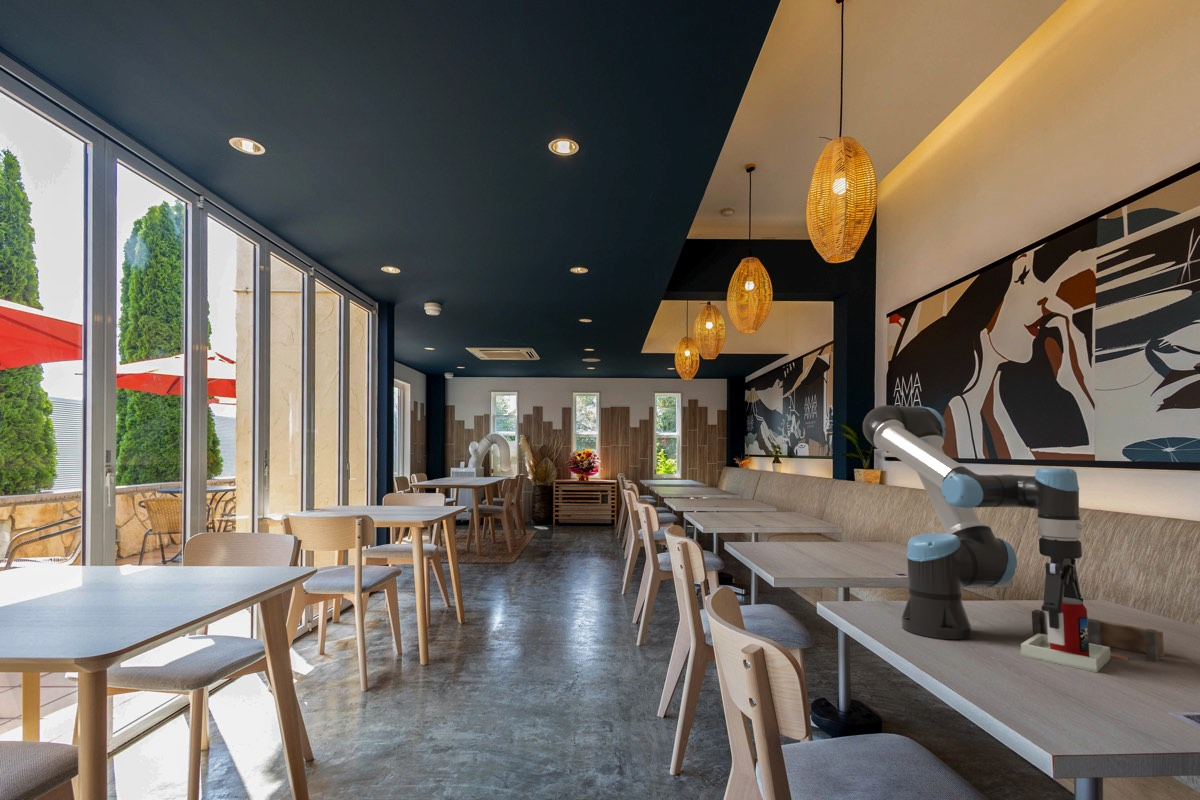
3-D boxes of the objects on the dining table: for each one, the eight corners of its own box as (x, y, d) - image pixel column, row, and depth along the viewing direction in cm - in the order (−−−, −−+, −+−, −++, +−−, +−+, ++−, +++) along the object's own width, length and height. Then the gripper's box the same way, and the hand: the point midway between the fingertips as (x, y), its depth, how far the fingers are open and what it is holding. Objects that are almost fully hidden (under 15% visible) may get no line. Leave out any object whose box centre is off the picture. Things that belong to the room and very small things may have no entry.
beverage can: (1095, 663, 127) (1092, 604, 128) (1057, 659, 129) (1054, 601, 130) (1081, 653, 134) (1078, 597, 135) (1045, 650, 136) (1042, 594, 137)
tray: (1021, 655, 133) (1020, 644, 133) (1038, 644, 142) (1038, 633, 142) (1096, 672, 123) (1096, 659, 124) (1110, 659, 132) (1109, 647, 132)
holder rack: (1025, 639, 145) (1024, 613, 145) (1040, 630, 153) (1038, 606, 153) (1155, 666, 128) (1153, 636, 128) (1164, 654, 135) (1162, 626, 136)
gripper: (1065, 545, 124) (1071, 653, 122) (1094, 535, 140) (1099, 631, 138) (1022, 540, 129) (1027, 644, 128) (1054, 532, 146) (1058, 624, 144)
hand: (1064, 637), depth 133 cm, fingers open, 13 cm apart
